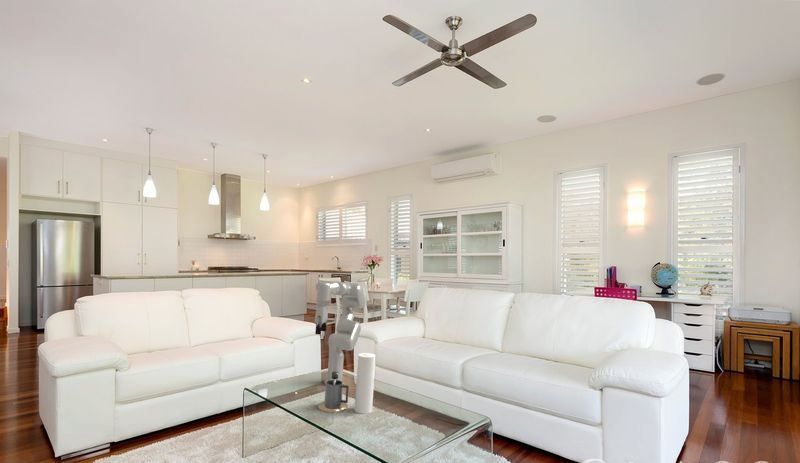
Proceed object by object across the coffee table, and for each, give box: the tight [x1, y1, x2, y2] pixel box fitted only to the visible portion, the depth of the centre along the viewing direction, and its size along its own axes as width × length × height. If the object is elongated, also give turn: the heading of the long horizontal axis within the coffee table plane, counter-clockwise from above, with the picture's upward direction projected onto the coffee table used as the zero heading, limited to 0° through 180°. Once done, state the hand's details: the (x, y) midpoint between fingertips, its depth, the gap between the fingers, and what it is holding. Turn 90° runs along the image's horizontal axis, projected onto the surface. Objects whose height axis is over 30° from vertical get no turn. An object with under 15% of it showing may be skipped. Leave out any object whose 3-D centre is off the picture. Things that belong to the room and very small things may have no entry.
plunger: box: [332, 371, 339, 385], centre depth 230 cm, size 7×7×15 cm
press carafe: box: [317, 380, 350, 413], centre depth 230 cm, size 16×16×13 cm
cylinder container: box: [354, 352, 377, 415], centre depth 228 cm, size 9×9×30 cm
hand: (320, 332), depth 247 cm, fingers open, 9 cm apart
